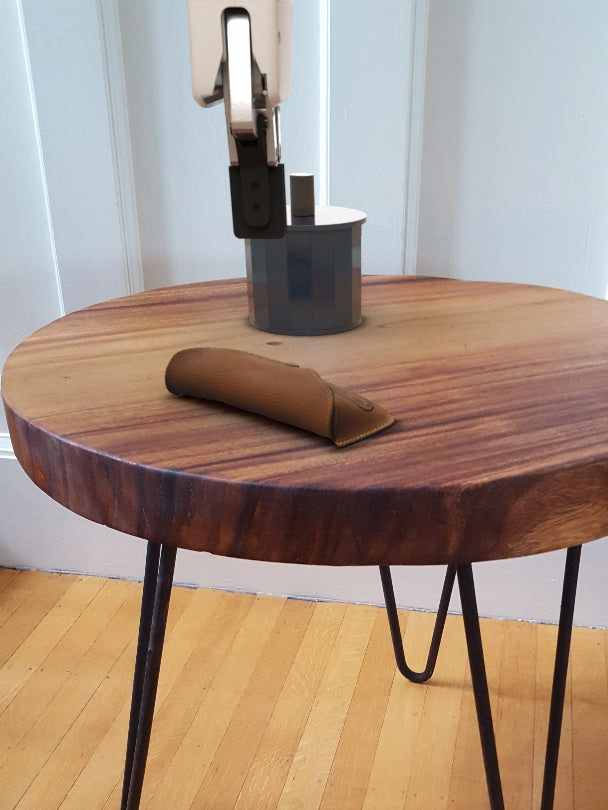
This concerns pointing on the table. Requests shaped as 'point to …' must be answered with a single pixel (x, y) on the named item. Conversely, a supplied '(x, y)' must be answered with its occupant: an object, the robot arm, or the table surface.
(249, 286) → the pot
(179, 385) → the sunglasses case
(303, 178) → the pot lid
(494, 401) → the table surface
